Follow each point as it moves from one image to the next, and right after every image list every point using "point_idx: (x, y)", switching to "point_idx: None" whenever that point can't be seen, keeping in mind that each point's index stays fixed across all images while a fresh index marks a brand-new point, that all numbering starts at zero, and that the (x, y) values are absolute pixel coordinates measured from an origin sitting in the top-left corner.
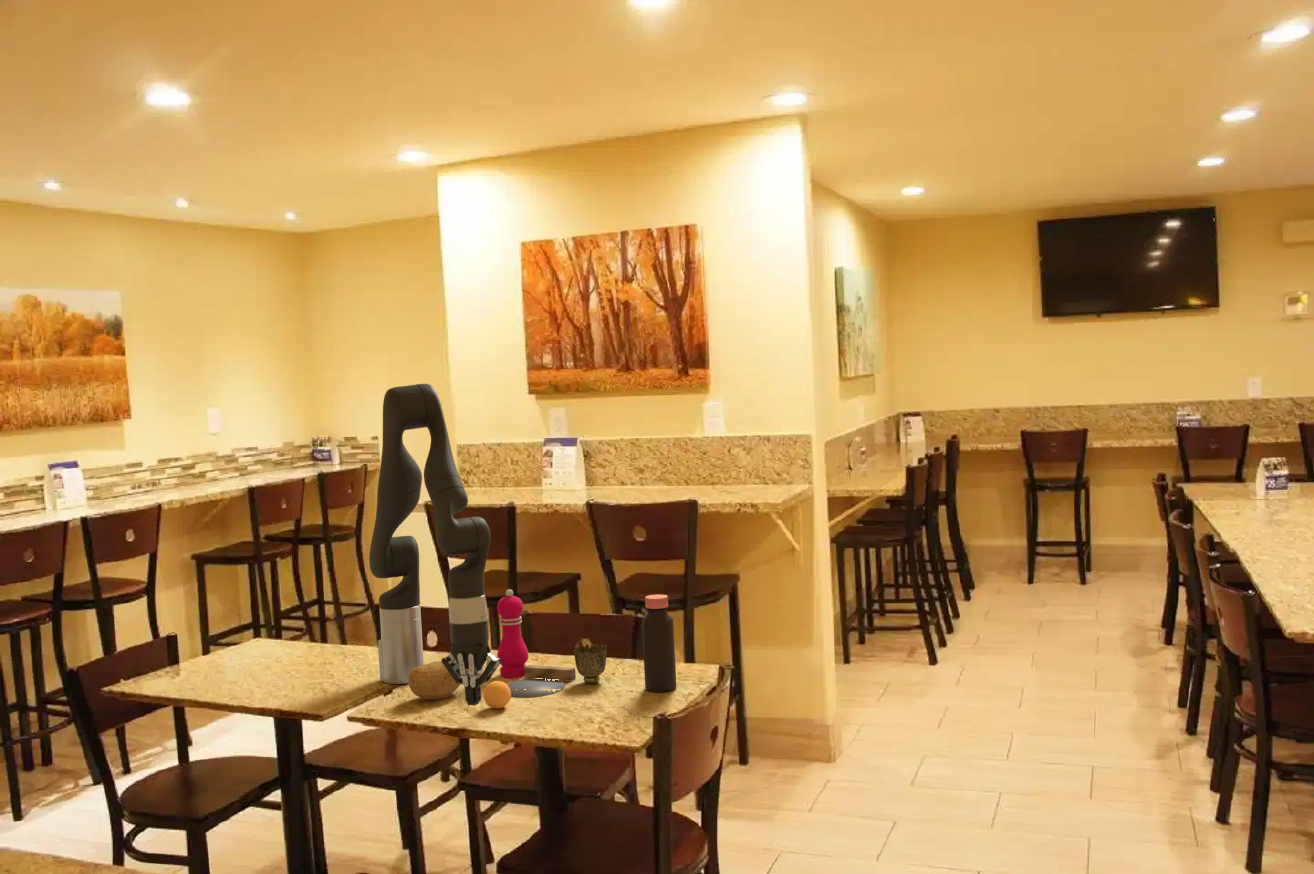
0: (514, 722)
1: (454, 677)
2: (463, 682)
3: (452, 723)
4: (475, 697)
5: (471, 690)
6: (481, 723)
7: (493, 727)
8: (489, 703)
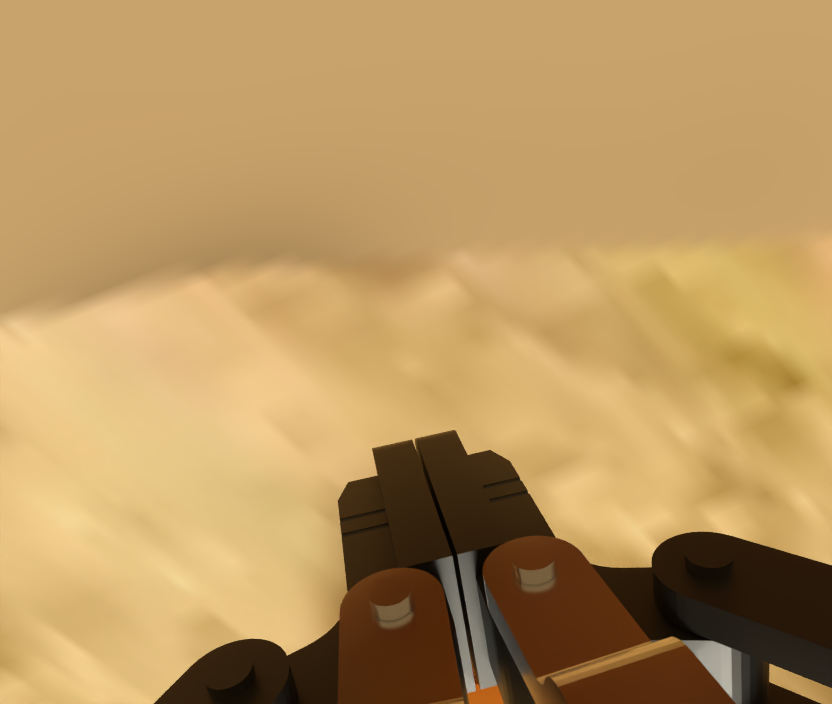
0: (49, 550)
1: (799, 577)
2: (582, 573)
3: (556, 289)
4: (369, 513)
5: (417, 538)
6: (307, 403)
7: (110, 369)
8: (480, 691)
